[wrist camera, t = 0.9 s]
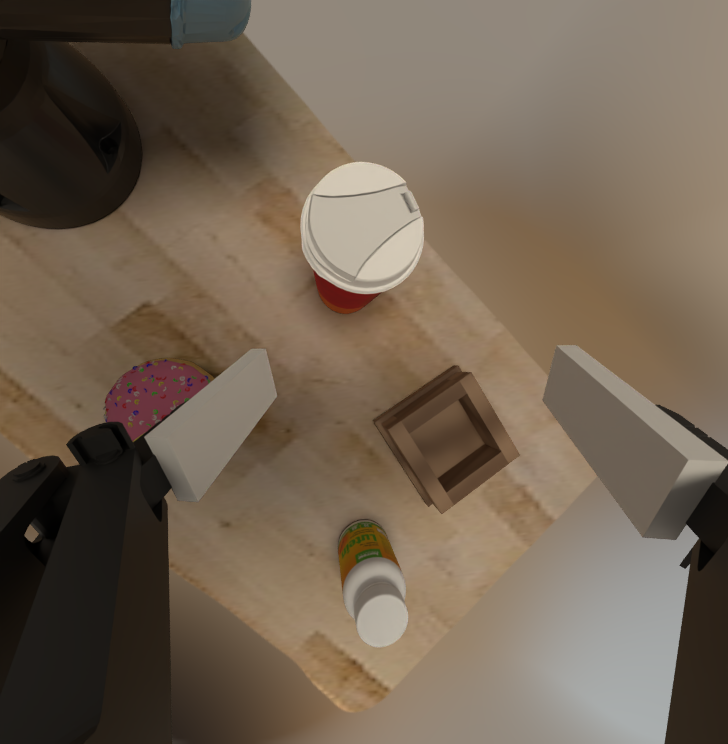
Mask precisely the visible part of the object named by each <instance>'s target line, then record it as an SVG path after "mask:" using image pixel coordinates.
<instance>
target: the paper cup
mask: <svg viewBox="0 0 728 744" xmlns="http://www.w3.org/2000/svg"><path fill="white" fill-rule="evenodd" d="M423 228H424V224H423V217H421V214H420V212H419V207H418V205H417V203H416V200H415V198H414V196H413V194H412V192H411V191H408V189H407V186H406V182H405V181H404V180H403V179H402V178H401V177H400V176H399V175H397V174H396V173H395V172H393V171H392V170H390V169H388V168H386V167H384V166H381V165H378V164H375V163H368V162H354V163H348V164H345V165H342V166H340V167H338V168H336V169H334V170H332V171H331V172H329V173H328V174H327V175H326V176H324V178H323V179H322V180H321V181H320V182H319V183H318V184H317V185H316V186H315V187H314V189H313V190H312V191H311V193H310V194H309V196H308V198H307V200H306V202H305V204H304V207H303V211H302V215H301V237H302V250H303V252H304V255H305V257H306V259H307V261H308V262H309V264H310V265H311V267H312V268H313V271H314V275H315V280H316V285H317V289H318V292H319V295H320V297H321V299H322V301H323V302H324V304H325V305H326V306H327V307H329V308H330V309H331V310H333V311H335V312H338V313H343V314H348V313H353V312H356V311H358V310H360V309H361V308H363V307H364V306H366V305H367V304H368V303H369V302H371V301H372V300H373V299H374V298H375V297H377V296H378V295H379V294H380V293H382V292H384V291H386V290H389V289H391V288H393V287H395V286H397V285H398V284H400V283H401V282H402V281H403V280H405V279H406V278H407V277H408V276H409V275H410V273H411V272H412V271H413V270H414V268H415V266H416V264H417V263H418V261H419V258H420V255H421V253H422V248H423V241H424V230H423Z"/></svg>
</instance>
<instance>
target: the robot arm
mask: <svg viewBox="0 0 728 744" xmlns="http://www.w3.org/2000/svg"><path fill="white" fill-rule="evenodd" d="M250 11H251V0H0V215H2V216H5V217H7V218H9V219H11V220H14V221H17V222H20V223H23V224H26V225H30V226H35V227H42V228H70V227H76V226H81V225H85V224H88V223H91V222H93V221H96V220H98V219H100V218H102V217H104V216H106V215H107V214H109V213H110V212H112V211H113V210H114V209H116V208H117V207H118V206H119V205H120V204H121V203H122V202H123V201H124V200H125V199H126V197H127V196H128V195H129V193H130V192H131V190H132V188H133V187H134V185H135V182H136V180H137V178H138V174H139V171H140V166H141V157H142V149H141V141H140V136H139V132H138V129H137V126H136V123H135V121H134V118H133V116H132V114H131V113H130V111H129V109H128V108H127V106H126V105H125V103H124V102H123V100H122V99H121V98H120V96H119V95H118V94H117V92H116V91H115V89H114V88H113V87H112V85H111V84H110V83H109V81H108V80H107V79H106V78H105V76H104V75H103V74H102V73H101V72H100V71H99V70H98V69H97V68H96V67H95V66H94V65H93V64H92V63H91V62H90V61H89V60H88V59H87V58H86V57H84V56H83V55H82V54H81V53H80V52H78V51H77V50H76V49H75V48H74V47H72V46H71V45H70V44H69V43H68V42H101V43H146V44H171V45H172V48H173V49H180V48H182V46H183V44H184V43H200V42H224V41H231V40H234V39H236V38H237V37H239V36H240V35H241V34H242V33H243V31H244V30H245V28H246V25H247V23H248V20H249V16H250ZM276 397H277V393H276V389H275V385H274V381H273V377H272V372H271V368H270V364H269V360H268V356H267V352H266V349H250V350H249V351H248V352H247V353H246V354H244V355H243V356H242V357H241V358H240V359H238V360H237V361H236V362H235V363H233V364H232V365H231V366H230V367H229V368H227V369H226V370H225V371H224V372H223V373H221V374H220V375H219V376H218V377H216V378H215V379H214V380H213V381H212V382H210V383H209V384H208V385H207V386H206V387H204V388H203V389H202V390H201V391H199V392H198V393H197V394H196V395H195V396H193V397H192V398H191V399H189V400H188V401H186V402H184V403H182V404H180V405H179V406H177V407H176V408H175V409H174V410H173V411H171V412H170V414H168V415H166V416H165V417H164V418H163V419H162V421H159V422H158V423H156V424H155V425H154V426H153V427H152V428H150V429H149V430H148V431H147V432H145V433H144V434H143V435H142V436H140V437H139V438H138V439H137V440H136V441H134V442H133V441H132V439H131V438H130V436H129V434H128V432H127V430H126V429H125V427H124V425H123V423H120V422H107V423H102V424H99V425H96V426H93V427H91V428H88V429H86V430H84V431H82V432H80V433H79V434H77V435H76V436H74V437H73V438H72V439H70V441H69V442H68V443H67V444H66V445H67V447H68V448H69V450H70V451H71V452H72V454H73V455H74V457H75V458H76V460H77V461H78V462H79V464H80V465H76V466H70V467H66V466H65V465H64V464H63V462H62V461H61V460H60V458H59V457H58V456H45V457H41V458H38V459H33V460H30V461H28V462H27V463H23V464H21V465H19V466H18V467H17V468H15V469H14V470H12V471H10V472H9V473H7V474H6V475H5V476H4V477H2V478H1V479H0V744H172V715H171V713H172V710H171V661H170V614H169V613H170V612H169V611H170V609H169V558H168V507H167V502H166V500H165V498H164V496H165V495H166V494H167V493H168V491H169V490H170V489H171V488H172V490H173V492H174V494H175V496H176V498H177V500H178V501H189V502H199V501H200V499H201V498H202V497H203V495H204V494H205V493H206V491H207V490H208V489H209V487H210V486H211V485H212V483H213V482H214V480H215V479H216V478H217V476H218V475H219V474H220V472H221V471H222V470H223V468H224V467H225V466H226V464H227V463H228V462H229V460H230V459H231V458H232V456H233V455H234V454H235V452H236V451H237V450H238V448H239V447H240V446H241V444H242V443H243V442H244V440H245V439H246V437H247V436H248V435H249V433H250V432H251V431H252V429H253V428H254V427H255V425H256V424H257V423H258V421H259V420H260V419H261V417H262V416H263V415H264V413H265V412H266V411H267V409H268V408H269V407H270V405H271V404H272V403H273V401H274V400H275V399H276ZM543 402H544V403H545V404H546V406H547V407H548V409H549V410H550V411H551V413H552V414H553V415H554V417H555V418H556V420H557V421H558V422H559V424H560V425H561V426H562V428H563V429H564V430H565V432H566V433H567V435H568V436H569V437H570V439H571V440H572V441H573V443H574V444H575V445H576V447H577V448H578V450H579V451H580V452H581V454H582V455H583V456H584V458H585V459H586V461H587V462H588V463H589V465H590V466H591V467H592V469H593V470H594V471H595V473H596V474H597V476H598V477H599V478H600V480H601V481H602V482H603V484H604V485H605V487H606V488H607V489H608V490H609V492H610V493H611V495H612V496H613V497H614V499H615V500H616V502H617V503H618V504H619V506H620V507H621V508H622V510H623V511H624V513H625V514H626V515H627V517H628V518H629V519H630V521H631V522H632V523H633V525H634V526H635V527H636V529H637V530H638V532H639V533H640V534H641V536H642V537H645V538H657V539H671V540H676V539H677V537H678V536H679V535H680V533H681V532H682V530H683V529H684V527H685V526H686V524H687V525H688V526H689V527H690V528H691V530H692V531H693V532H694V533H695V534H696V535H697V536H698V537H699V539H698V541H697V542H696V544H695V545H694V546H693V548H692V549H691V550H690V552H689V553H688V555H687V556H686V557H685V559H684V560H683V561H682V563H681V564H680V566H681V567H683V568H687V566H688V565H689V564H690V570H689V577H688V584H687V591H686V598H685V605H684V612H683V619H682V626H681V633H680V640H679V647H678V654H677V661H676V668H675V675H674V682H673V689H672V696H671V703H670V710H669V717H668V724H667V731H666V738H665V744H728V450H727V449H726V448H725V447H723V446H722V445H721V444H719V443H718V442H716V441H715V440H714V439H712V438H711V437H708V435H707V434H705V433H704V432H703V431H701V430H700V429H699V428H695V427H694V425H693V424H692V423H690V422H689V421H687V420H686V419H685V418H683V417H682V416H681V415H679V414H677V413H675V412H673V411H671V410H669V409H667V408H665V407H662V406H660V405H654V404H653V403H652V402H650V401H649V400H648V399H646V398H645V397H644V396H642V395H641V394H640V393H638V392H637V391H636V390H634V389H633V388H632V387H631V386H629V385H628V384H627V383H625V382H624V381H622V380H621V379H620V378H619V377H617V376H616V375H615V374H613V373H612V372H611V371H610V370H608V369H607V368H606V367H604V366H603V365H602V364H600V363H599V362H598V361H596V360H595V359H594V358H592V357H591V356H590V355H588V354H587V353H586V352H584V351H583V350H582V349H581V348H579V347H578V346H577V345H557V346H556V349H555V353H554V357H553V361H552V365H551V369H550V373H549V376H548V380H547V384H546V388H545V392H544V396H543ZM30 524H31V525H32V526H33V528H34V529H35V530H36V531H37V532H38V533H39V535H38V536H37V538H36V539H35V540H34V541H33V542H30V541H28V540H27V538H26V537H25V536H24V534H25V532H26V530H27V528H28V526H29V525H30Z"/></svg>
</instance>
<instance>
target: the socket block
mask: <svg viewBox="0 0 728 744" xmlns="http://www.w3.org/2000/svg"><path fill="white" fill-rule="evenodd" d="M373 422H374V424H375V425H376V427H377V428H378V430H379V431H380V433H381V435H382V436H383V438H384V439H385V441H386V442H387V444H388V446H389V447H390V449H391V450H392V452H393V453H394V455H395V456H396V458H397V460H398V461H399V463H400V464H401V466H402V467H403V469H404V470H405V472H406V474H407V475H408V477H409V478H410V480H411V481H412V483H413V485H414V486H415V488H416V489H417V491H418V492H419V494H420V495H421V497H422V499H423V500H424V502H425V503H426V504H427V506H428V507H429V506H430V505H432V504H433V505H434V506H435V507H436V508H437V509H438V510H439V512H440V513H441V514H443V513H444V512H445V511H447V510H448V509H449V508H451V507H452V506H453V505H455V504H456V503H457V502H459V501H460V500H461V499H463V498H464V497H465V496H467V495H468V494H469V493H471V492H472V491H473V490H475V489H476V488H477V487H479V486H480V485H481V484H482V483H484V482H485V481H486V480H488V479H489V478H490V477H492V476H493V475H494V474H496V473H497V472H498V471H500V470H501V469H502V468H504V467H505V466H506V465H508V464H509V463H510V462H512V461H513V460H514V459H516V458H517V457H518V456H520V454H519V452H518V451H517V449H516V447H515V445H514V444H513V442H512V440H511V439H510V437H509V435H508V434H507V432H506V430H505V428H504V427H503V425H502V423H501V422H500V420H499V418H498V417H497V415H496V413H495V411H494V410H493V408H492V406H491V405H490V403H489V401H488V400H487V398H486V396H485V394H484V393H483V391H482V389H481V388H480V386H479V384H478V383H477V381H476V379H475V377H474V376H473V374H472V372H462V371H461V369H460V368H459V366H453V367H451V368H450V369H448V370H447V371H445V372H444V373H442V374H441V375H439V376H438V377H437V378H435V379H434V380H432V381H431V382H429V383H428V384H426V385H425V386H423V387H422V388H420V389H419V390H417V391H416V392H414V393H413V394H411V395H410V396H409V397H407V398H406V399H404V400H403V401H401V402H400V403H398V404H397V405H395V406H394V407H392V408H391V409H389V410H388V411H386V412H385V413H383V414H382V415H381V416H379V417H378V418H376V419H375V420H373Z"/></svg>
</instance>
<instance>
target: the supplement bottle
mask: <svg viewBox="0 0 728 744" xmlns="http://www.w3.org/2000/svg"><path fill="white" fill-rule="evenodd" d="M338 554H339V563H340V572H341V581H342V591H343V598H344V604H345V607H346V609H347V611H348V613H349V614H350V616H351V617H352V618H353V619H354V620H355V622H356V627H357V631H358V634H359V636H360V638H361V639H362V640H363V641H364V642H365V643H366V644H368V645H370V646H373V647H385V646H388V645H391V644H393V643H394V642H396V641H397V640H398V639H399V638H400V637H401V636H402V634H403V633H404V631H405V629H406V627H407V623H408V611H407V608H406V605H405V602H404V599H405V595H406V584H405V580H404V577H403V574H402V571H401V569H400V566H399V564H398V561H397V559H396V557H395V554H394V552H393V549H392V547H391V545H390V542H389V540H388V537H387V535H386V533H385V531H384V530H383V528H382V527H381V526H380V525H379V524H377V523H375V522H373V521H370V520H360V521H356V522H354V523H352V524H351V525H349V526H348V527H347V528H346V529H345V530H344V531H343V533H342V534H341V536H340V539H339V543H338Z"/></svg>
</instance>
